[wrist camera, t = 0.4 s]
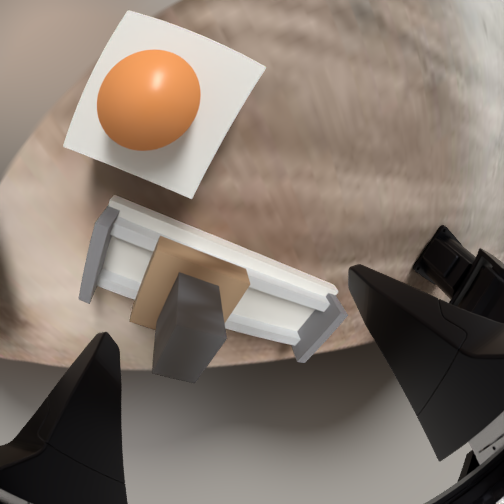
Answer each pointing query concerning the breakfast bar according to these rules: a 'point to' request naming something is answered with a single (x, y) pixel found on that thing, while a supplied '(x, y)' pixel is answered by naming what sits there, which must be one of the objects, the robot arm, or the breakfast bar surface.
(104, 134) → the push button box
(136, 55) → the button
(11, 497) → the robot arm
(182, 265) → the carriage
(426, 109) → the breakfast bar surface
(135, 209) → the rail track
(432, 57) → the breakfast bar surface
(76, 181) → the breakfast bar surface
